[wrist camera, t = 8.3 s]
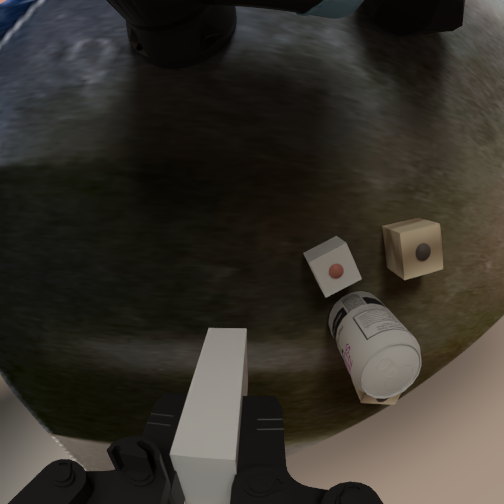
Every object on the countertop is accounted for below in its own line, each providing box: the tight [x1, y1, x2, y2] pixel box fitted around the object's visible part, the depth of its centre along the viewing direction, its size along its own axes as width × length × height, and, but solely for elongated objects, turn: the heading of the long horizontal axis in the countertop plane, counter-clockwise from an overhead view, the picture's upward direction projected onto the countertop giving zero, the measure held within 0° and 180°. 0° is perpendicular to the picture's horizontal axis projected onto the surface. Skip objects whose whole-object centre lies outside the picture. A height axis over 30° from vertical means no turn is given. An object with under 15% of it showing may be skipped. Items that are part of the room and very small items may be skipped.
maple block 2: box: [382, 218, 443, 280], centre depth 38 cm, size 6×6×6 cm
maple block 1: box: [352, 381, 402, 404], centre depth 42 cm, size 6×6×6 cm
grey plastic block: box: [303, 236, 362, 297], centre depth 39 cm, size 5×5×5 cm
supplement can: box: [328, 291, 421, 399], centre depth 36 cm, size 8×8×15 cm
